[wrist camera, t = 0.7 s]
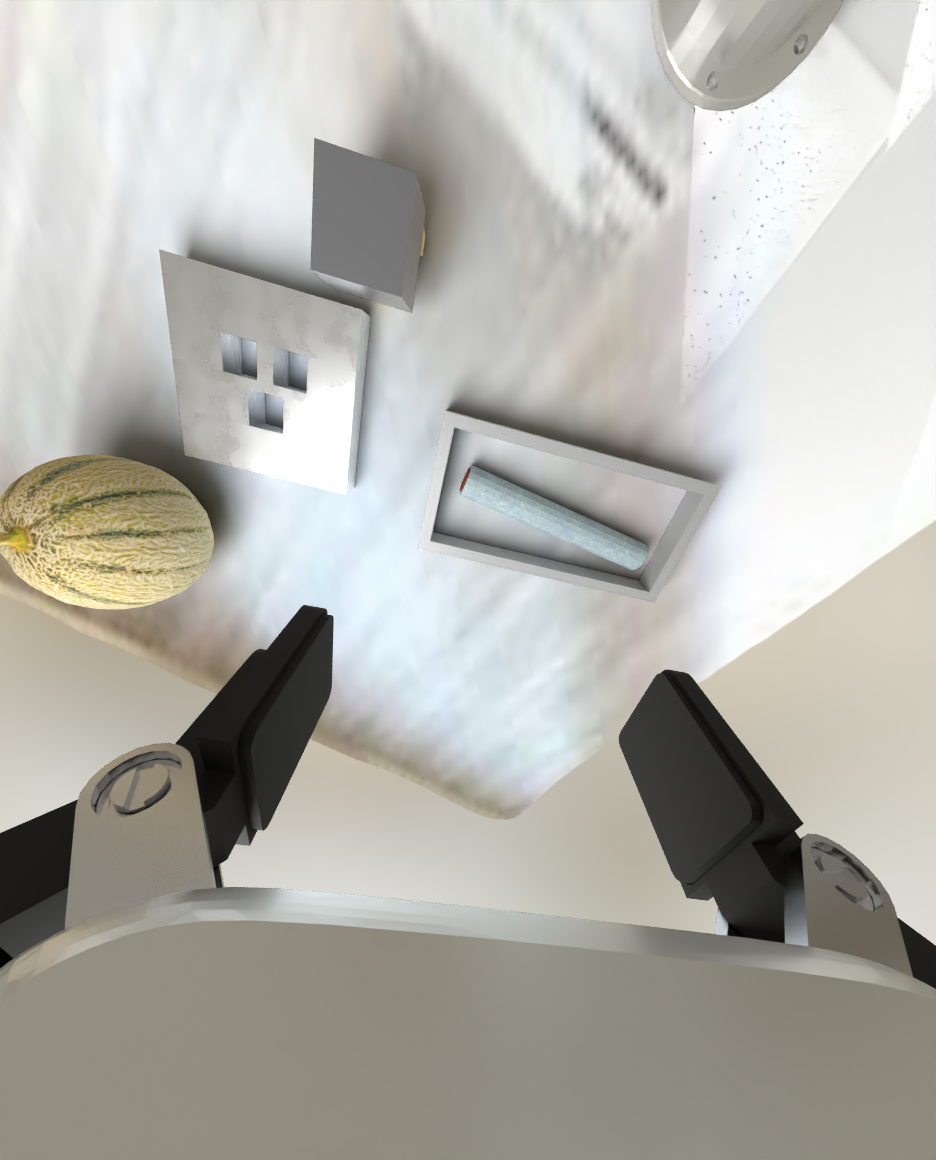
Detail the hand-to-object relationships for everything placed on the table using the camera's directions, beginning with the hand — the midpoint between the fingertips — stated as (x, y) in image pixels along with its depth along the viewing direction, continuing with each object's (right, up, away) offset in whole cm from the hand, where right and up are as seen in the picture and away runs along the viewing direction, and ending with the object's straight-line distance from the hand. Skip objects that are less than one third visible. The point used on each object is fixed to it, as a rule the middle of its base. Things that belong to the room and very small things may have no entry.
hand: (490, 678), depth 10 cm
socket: (-19, +22, +25) cm, 38 cm away
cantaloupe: (-35, +11, +31) cm, 48 cm away
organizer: (+10, +11, +30) cm, 33 cm away
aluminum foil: (+10, +12, +30) cm, 34 cm away
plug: (-8, +30, +20) cm, 37 cm away
